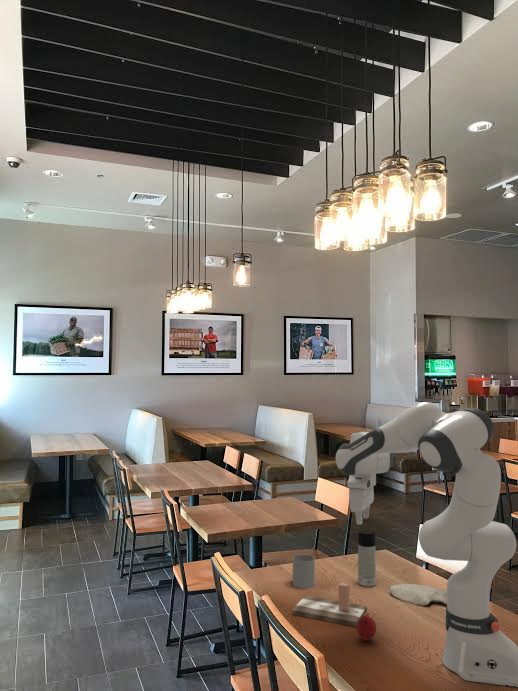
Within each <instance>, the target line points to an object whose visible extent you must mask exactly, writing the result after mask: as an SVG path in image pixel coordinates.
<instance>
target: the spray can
mask: <svg viewBox="0 0 518 691" xmlns="http://www.w3.org/2000/svg"><path fill="white" fill-rule="evenodd" d="M357 533H358V536H357V538H358V539H357V552H358V553H357V554H358V555H357V559H358V560H357V568H358V569H357V571H358V572H357V573H358V574H357V576H358V577H357V580H358V585H359V586H361V585H362V587H366V586H367V587H366V588H368V587H369V588H372V587H374V586H376V584H377V582H376V580H377V578H376V576H377V575H376V572H377V570H376V568H377V566H376V560H377V559H376V554H377V553H376V532H375V531H374V530H372V529H360V530H359V531H358V532H357ZM371 586H372V587H371Z"/></svg>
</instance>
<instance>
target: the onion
mask: <svg viewBox="0 0 518 691" xmlns="http://www.w3.org/2000/svg"><path fill="white" fill-rule="evenodd" d="M356 632H357V633H358V635H359V637H360V638H361V639H362V640H364V641H365V642H369V641H370V640H371V639H372V638H374V636H376V634H377V624H376V622H375V620H374V619H373V618H372V617H370V614H369V613H368V612H366V613H365V615H364V616H363V617H361V618H360V619H359V620H358V623H357V627H356Z"/></svg>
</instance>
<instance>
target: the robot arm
mask: <svg viewBox="0 0 518 691" xmlns="http://www.w3.org/2000/svg"><path fill="white" fill-rule="evenodd" d="M494 435H495V424H494V422H493V419H492V418H491V417H490V416H489V415H488V414H487V413H486V412H485V411H483V410H481V409H479V408H476V407H475V408H474V407H468V408H453V409H452V410H451V411H450V412H448V413H447V412H444V411H442V409H441V408H440V407H439V406H438V405H437V404H435V403H433V402H429V401H422V402H418V403H416V404H414V405H413V406H410V407H408V408H407V409H406V410H404V411H403V412H401V413H400V414H399V415H397V416H396V417H395V418H393V419H392V420H390V421H389V422H388V421H387V422H386V423H385V424H382V425H381V426H378V427H377V428H375V429H373V430H371V431H369V430H362V431H361V430H360V431H354V432H353V433H352V434H351V436H350V441H349V443H342V444H340V446H339V447H338V449H337V451H336V453H335V458H334V459H335V460H334V461H335V462H334V463H335V465H336V467H337V470H339V472H341V473H342V474H343V475H345V476H346V477H347V476H349V477H348V480H347V483H346V484H347V486H346V487H347V488H348V500H349V508H350V509H349V510H350V511H351V513H354V515H355V516H354V517H355V520H356V522H355V523H356V525H362V524H363V523H364V521H363V520H364V519H368V518H369V517H370V508H371V504H372V503H374V500H375V492H374V487H375V486H376V485H377V474H384V473H387V472H388V471H390V469H391V468H392V466H393V463H394V457H393V456H394V454H408V453H412V452H415V451H418V453H419V455H420V457H421V459H422V460H423V462H424V463H425V464H426V465H428V466H429V467H431V468H433V469H434V470H436V471H437V472H442V473H444V474H445V475H450V476H451V475H455V481H454V486H453V492H452V496H451V499H450V503H449V505H448V506H447V507H446V508H445V509H444V510H443V511H442V512H441V513H439V514H438V515H437V516H435V517H432V519H429V520H425V522H424V523H423V524H422V525H421V526H420V529H419V533H418V542H419V545H420V548H421V549H422V551H423V552H424V553H425V555H426V556H428V557H430V558H434V559H437V560H438V559H439V560H443V561H461V562H463V561H464V562H467V563H466V565H465V566H464V567H463V568H462V569H460V570H458V571H456V572H454V573H453V574H451V575H450V577H449V578H448V579H447V581H446V592H447V604H446V607H445V612H444V625H445V630H446V635H445V643H444V649H443V654H442V656H441V662H442V665H444V666H445V667H446V668H447V669H448V670H450V671H452V672H453V673H456V675H458V676H459V677H460V678H461V679H463V680H464V681H469V682H474V683H481V684H482V683H484V684H491V685H499V686H506V685H508V687H514V686H515V687H516V688H518V646H517V643H515V642H514V641H513V640H512V639H510V637H508V636H507V635H505V634H504V633H503V632H502V631H501V629H500V623H499V620H498V618H497V615H496V614H492V613H491V612H490V600H491V597H490V596H491V595H490V594H491V586H492V582H493V579H494V578H495V575H496V574H497V572H498V571H499V569H500V568H502V565H504V564H505V563H506V562H508V561H509V560H511V559H512V557H514V555H515V553H516V551H517V539H516V536H515V534H514V531H513V530H512V529H511V528H510V526H509V525H507V524H506V523H501V522H498V521H494V519H495V517H496V516H495V515H496V511H497V506H498V503H499V500H500V493H501V486H502V485H501V484H502V472H501V467H500V464H499V462H498V461H497V459H495V458H494V457H493V456H492V455H489V454H487V453H485V452H483V451H481V448H482V447H485V446H486V445H487V444H488V443H489V442H490V441H491V440H492V439H493V437H494Z"/></svg>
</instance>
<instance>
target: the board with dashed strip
mask: <svg viewBox="0 0 518 691" xmlns="http://www.w3.org/2000/svg"><path fill="white" fill-rule="evenodd" d="M366 611H368V606H367V605H364V604H362V605H361V604H356V603H351V602H349V610H348V611H344V610H339V600H334V599H328V598H321V597H317V596H311V595H304V597H303V598H301V599H300V601H298V603H297V604H296V605H295V606H294V607H293V608H292V609H291V615H292V616H297V617H302V618H308V619H312V620H313V619H314V620H318V621H323V622H329V623H334V624H338V625H339V624H340V625H345V626H349V625H350V627H354V626H355V628H357V623H358V620H359V619H360V618H361V617H363V616H364V614H365V613H367V612H366Z"/></svg>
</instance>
